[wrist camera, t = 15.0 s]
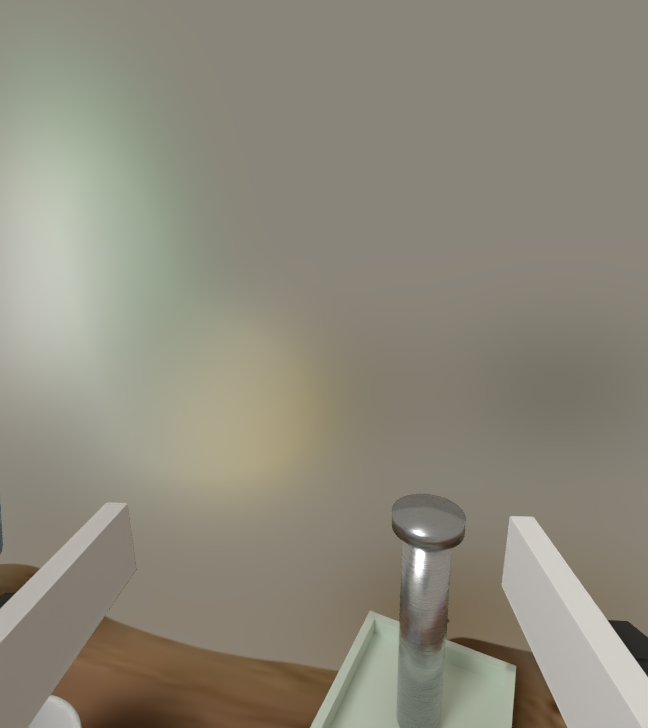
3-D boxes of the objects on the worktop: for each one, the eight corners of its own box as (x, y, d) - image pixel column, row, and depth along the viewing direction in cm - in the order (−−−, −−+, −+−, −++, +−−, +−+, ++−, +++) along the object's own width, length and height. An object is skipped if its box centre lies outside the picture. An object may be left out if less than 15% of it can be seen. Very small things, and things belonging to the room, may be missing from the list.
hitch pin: (377, 733, 34) (382, 522, 29) (397, 677, 38) (404, 488, 34) (443, 766, 31) (458, 543, 27) (456, 704, 36) (470, 503, 32)
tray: (303, 767, 32) (302, 742, 32) (369, 630, 44) (369, 610, 44) (498, 886, 26) (501, 857, 25) (513, 688, 38) (516, 666, 37)
